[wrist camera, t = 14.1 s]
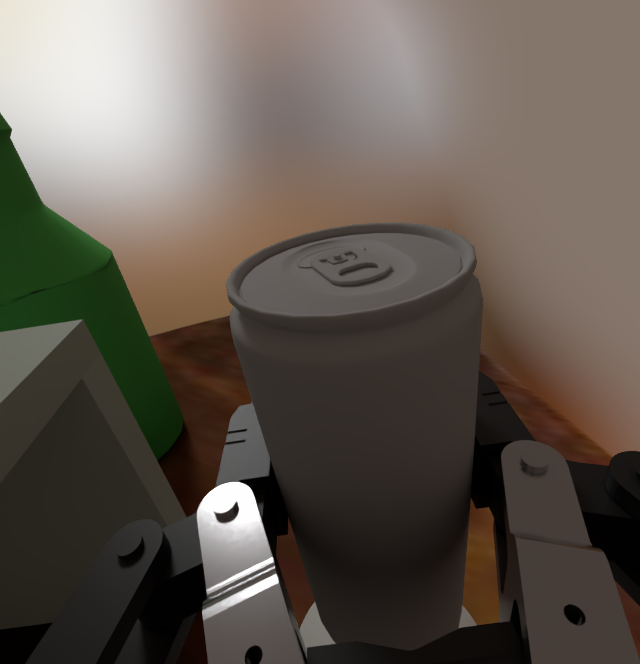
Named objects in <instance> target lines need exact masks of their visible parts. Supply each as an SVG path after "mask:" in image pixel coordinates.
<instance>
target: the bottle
mask: <svg viewBox="0 0 640 664" xmlns="http://www.w3.org/2000/svg"><path fill="white" fill-rule="evenodd" d="M11 132H12V129H11V127H10V126H9V125H8V123H7V122H6V120H5V119H4V118H3V116H2V115H1V113H0V332H4V331H11V330H17V329H24V328H30V327H37V326H43V325H50V324H56V323H63V322H69V321H76V320H82V319H83V320H84V322H85V324H86V326H87V328H88V330H89V332H90V334H91V336H92V337H93V339H94V341H95V343H96V345H97V347H98V349H99V351H100V353H101V355H102V357H103V358H104V360H105V362H106V364H107V366H108V368H109V370H110V372H111V374H112V376H113V377H114V379H115V381H116V383H117V385H118V387H119V389H120V391H121V393H122V395H123V397H124V398H125V400H126V402H127V404H128V406H129V408H130V410H131V412H132V414H133V416H134V417H135V419H136V421H137V423H138V425H139V427H140V429H141V431H142V433H143V435H144V437H145V438H146V440H147V442H148V444H149V446H150V448H151V450H152V452H153V454H154V456H155V457H156V459H157V460H159V459H160V458H161V457H162V456H163V455H164V454H165V453H166V452H167V451H168V450H169V449H170V448H171V446H172V445H173V444H174V442H175V441H176V439H177V438H178V436H179V435H180V433H181V432H182V427H183V421H184V417H183V415H182V413H181V410H180V408H179V405H178V403H177V401H176V399H175V396H174V394H173V392H172V389H171V387H170V385H169V382H168V380H167V378H166V375H165V373H164V371H163V368H162V366H161V364H160V361H159V359H158V357H157V354H156V352H155V350H154V347H153V345H152V343H151V341H150V338H149V336H148V334H147V331H146V329H145V327H144V325H143V322H142V320H141V318H140V315H139V313H138V311H137V308H136V306H135V304H134V302H133V299H132V297H131V295H130V292H129V290H128V288H127V286H126V283H125V281H124V279H123V276H122V274H121V272H120V270H119V267H118V265H117V263H116V260H115V258H114V256H113V253H112V251H111V250H110V249H108V248H107V247H106V246H104V245H103V244H101V243H99V242H98V241H97V240H95V239H94V238H92V237H91V236H89V235H88V234H86V233H85V232H83V231H82V230H80V229H79V228H77V227H76V226H74V225H73V224H71V223H70V222H69V221H67V220H66V219H64V218H63V217H61V216H60V215H58V214H57V213H55V212H54V211H52V210H51V209H49V208H48V207H46V206H45V205H44V204H43V202H42V201H41V199H40V197H39V195H38V193H37V191H36V189H35V187H34V185H33V183H32V181H31V179H30V177H29V175H28V173H27V171H26V169H25V167H24V165H23V163H22V161H21V159H20V157H19V155H18V153H17V151H16V149H15V147H14V145H13V143H12V141H11V139H10V136H11Z"/></svg>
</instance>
